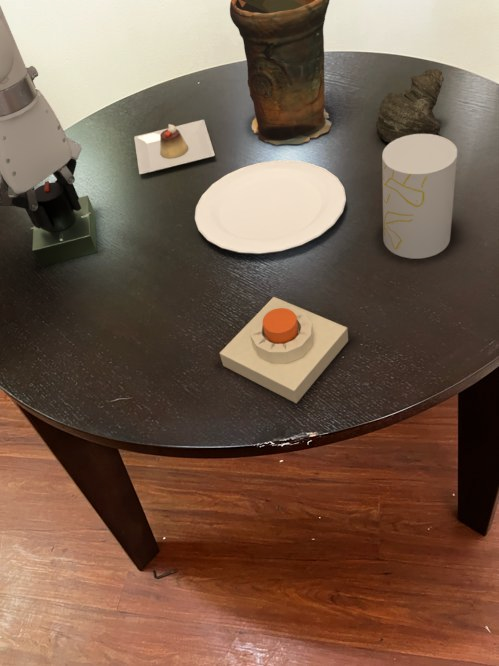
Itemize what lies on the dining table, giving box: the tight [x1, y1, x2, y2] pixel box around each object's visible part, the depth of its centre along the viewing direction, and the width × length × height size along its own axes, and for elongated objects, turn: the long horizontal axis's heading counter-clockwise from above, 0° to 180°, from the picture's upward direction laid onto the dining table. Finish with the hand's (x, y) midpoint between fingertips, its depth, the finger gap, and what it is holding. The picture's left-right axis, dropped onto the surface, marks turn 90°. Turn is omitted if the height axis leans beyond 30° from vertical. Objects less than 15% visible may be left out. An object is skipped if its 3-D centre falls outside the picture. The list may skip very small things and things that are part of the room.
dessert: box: [133, 119, 216, 175], centre depth 103 cm, size 12×12×5 cm
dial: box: [34, 180, 76, 231], centre depth 89 cm, size 4×4×5 cm
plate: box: [194, 159, 347, 255], centre depth 89 cm, size 21×21×2 cm
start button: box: [263, 308, 298, 344], centre depth 68 cm, size 4×4×2 cm
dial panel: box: [30, 195, 98, 268], centre depth 92 cm, size 10×9×3 cm
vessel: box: [229, 0, 332, 146], centre depth 98 cm, size 14×14×20 cm
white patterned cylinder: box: [381, 134, 458, 260], centre depth 77 cm, size 8×8×12 cm
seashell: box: [375, 68, 444, 144], centre depth 94 cm, size 11×12×10 cm
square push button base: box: [219, 296, 349, 404], centre depth 70 cm, size 10×10×4 cm
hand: (58, 216), depth 90 cm, fingers closed on dial, 4 cm apart
